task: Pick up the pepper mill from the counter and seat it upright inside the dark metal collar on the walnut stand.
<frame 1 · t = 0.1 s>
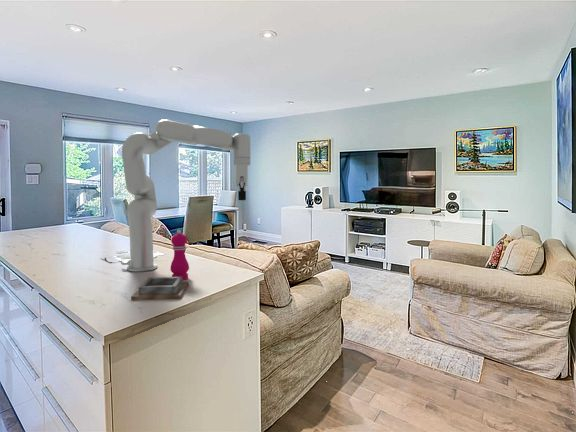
hand: (242, 199, 159), 31 cm above the countertop, tool pointing down, fingers open, 9 cm apart
tray: (133, 258, 182), on the countertop
pepper mill: (180, 279, 142), on the countertop
mill stand: (162, 291, 125), on the countertop
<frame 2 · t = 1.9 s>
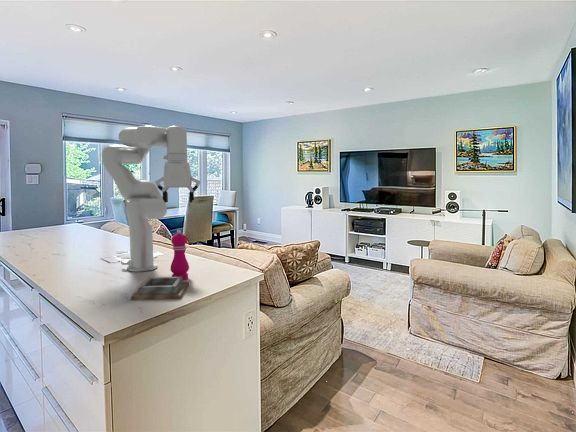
hand: (178, 202, 139), 31 cm above the countertop, tool pointing down, fingers open, 9 cm apart
nothing on the countertop moved.
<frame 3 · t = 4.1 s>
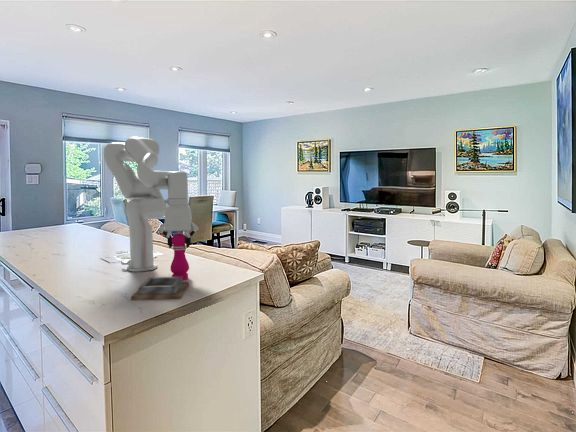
hand: (179, 246, 141), 13 cm above the countertop, tool pointing down, fingers closed on pepper mill, 6 cm apart
pepper mill: (180, 279, 142), on the countertop, touching gripper
everything else where it was.
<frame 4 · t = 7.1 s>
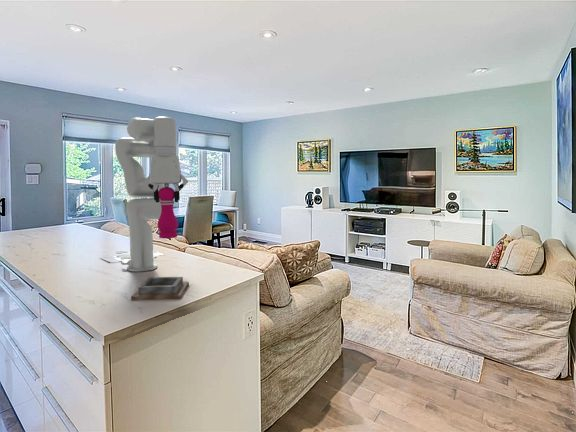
hand: (167, 201, 128), 32 cm above the countertop, tool pointing down, fingers closed on pepper mill, 6 cm apart
pepper mill: (168, 237, 129), point 19 cm above the countertop, touching gripper
everything else where it was.
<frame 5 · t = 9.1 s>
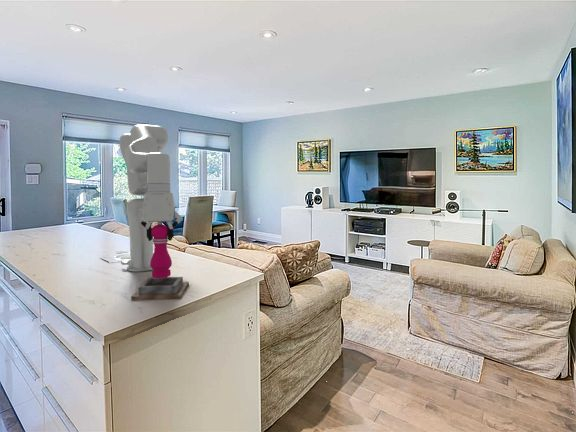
hand: (160, 239, 123), 19 cm above the countertop, tool pointing down, fingers closed on pepper mill, 6 cm apart
pepper mill: (161, 276, 124), point 6 cm above the countertop, touching gripper
everything else where it was.
when the fingers open (15 cm above the countertop, at t = 10.5 s): pepper mill stays where it is, resting on mill stand.
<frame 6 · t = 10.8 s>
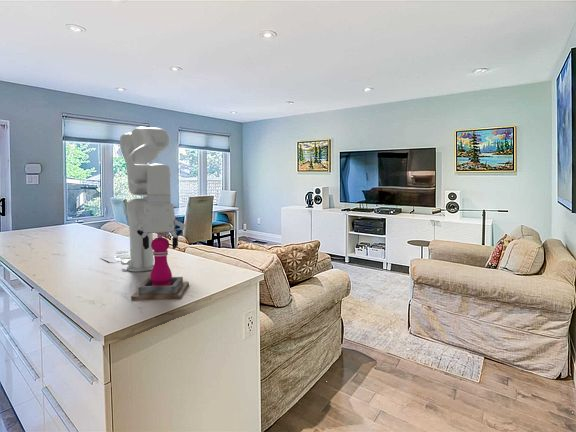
hand: (160, 248, 123), 16 cm above the countertop, tool pointing down, fingers open, 9 cm apart
pepper mill: (161, 288, 125), point 1 cm above the countertop, touching mill stand
everything else where it was.
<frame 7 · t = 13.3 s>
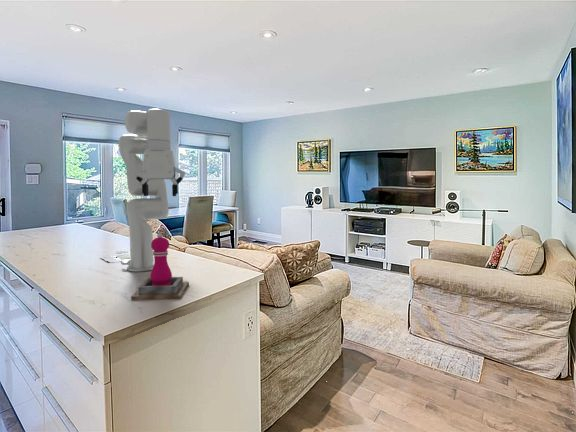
hand: (160, 195, 122), 34 cm above the countertop, tool pointing down, fingers open, 9 cm apart
nothing on the countertop moved.
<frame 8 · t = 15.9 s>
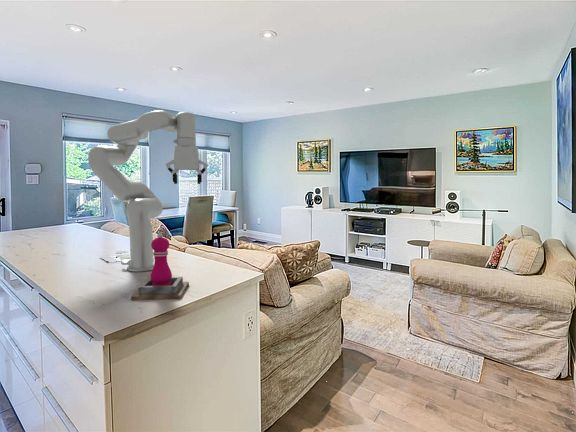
hand: (187, 183, 148), 38 cm above the countertop, tool pointing down, fingers open, 9 cm apart
nothing on the countertop moved.
at the end: pepper mill 0.3 cm off-centre on the mill stand, point 1.0 cm above the mill stand's base; pepper mill tilted 0°; the gripper is holding nothing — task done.
